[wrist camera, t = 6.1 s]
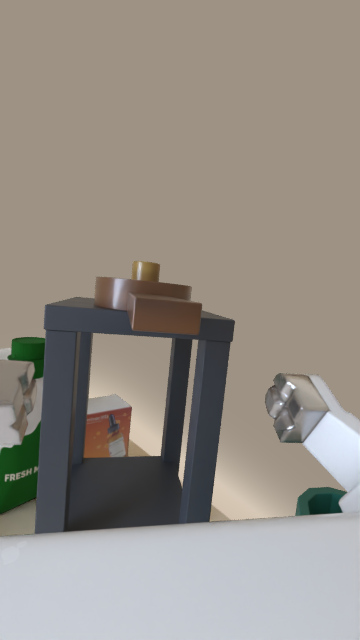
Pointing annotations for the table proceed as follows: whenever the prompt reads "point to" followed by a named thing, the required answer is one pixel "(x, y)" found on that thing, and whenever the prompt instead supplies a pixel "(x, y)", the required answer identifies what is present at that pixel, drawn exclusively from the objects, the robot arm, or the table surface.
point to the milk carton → (22, 460)
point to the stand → (126, 472)
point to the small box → (107, 427)
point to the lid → (150, 301)
